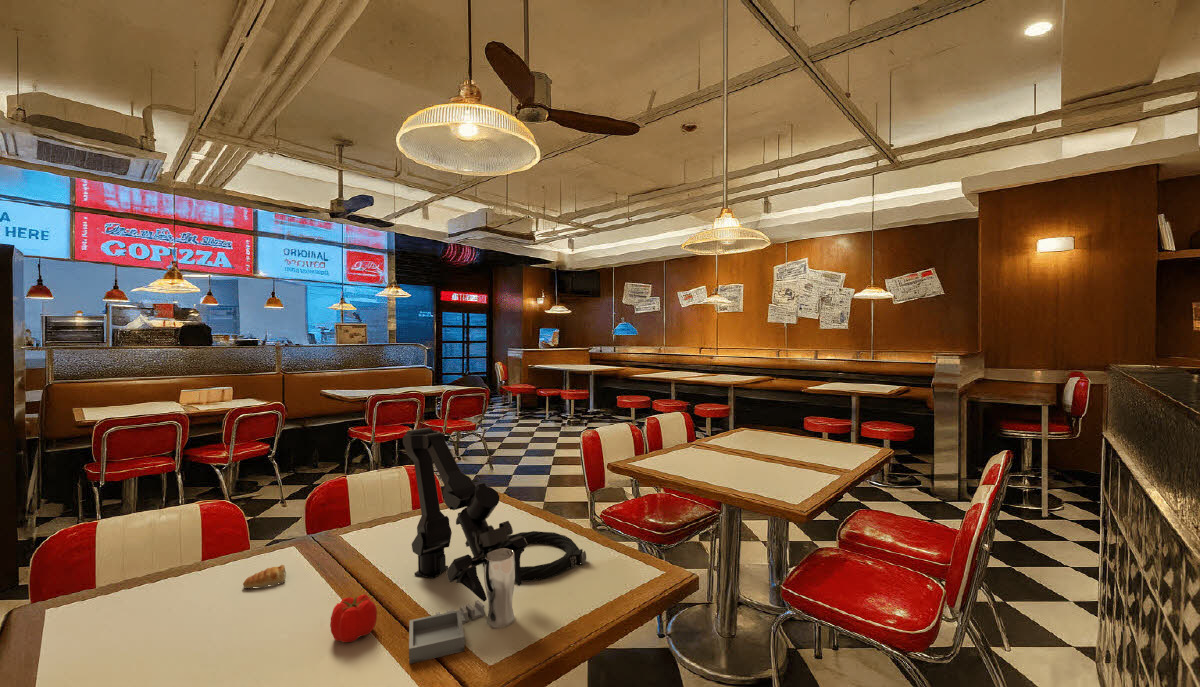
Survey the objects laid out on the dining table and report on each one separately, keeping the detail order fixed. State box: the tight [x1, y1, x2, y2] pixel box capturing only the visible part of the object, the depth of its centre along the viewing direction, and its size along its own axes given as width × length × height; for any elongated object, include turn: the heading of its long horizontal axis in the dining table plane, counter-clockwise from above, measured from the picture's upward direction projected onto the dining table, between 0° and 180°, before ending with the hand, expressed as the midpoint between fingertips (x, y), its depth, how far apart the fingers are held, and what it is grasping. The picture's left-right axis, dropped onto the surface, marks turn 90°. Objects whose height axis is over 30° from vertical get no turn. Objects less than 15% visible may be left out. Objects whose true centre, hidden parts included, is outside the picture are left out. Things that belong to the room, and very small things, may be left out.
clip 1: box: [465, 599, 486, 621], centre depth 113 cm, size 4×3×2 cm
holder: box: [408, 609, 465, 665], centre depth 102 cm, size 10×10×3 cm
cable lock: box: [482, 530, 587, 582], centre depth 140 cm, size 28×4×30 cm
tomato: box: [330, 594, 378, 644], centre depth 105 cm, size 9×9×8 cm
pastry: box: [242, 564, 287, 589], centre depth 129 cm, size 9×7×4 cm
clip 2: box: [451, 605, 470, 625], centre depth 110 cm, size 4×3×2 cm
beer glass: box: [483, 548, 516, 629], centre depth 110 cm, size 7×7×15 cm
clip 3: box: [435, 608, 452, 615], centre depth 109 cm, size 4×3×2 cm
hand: (503, 592), depth 109 cm, fingers open, 9 cm apart
